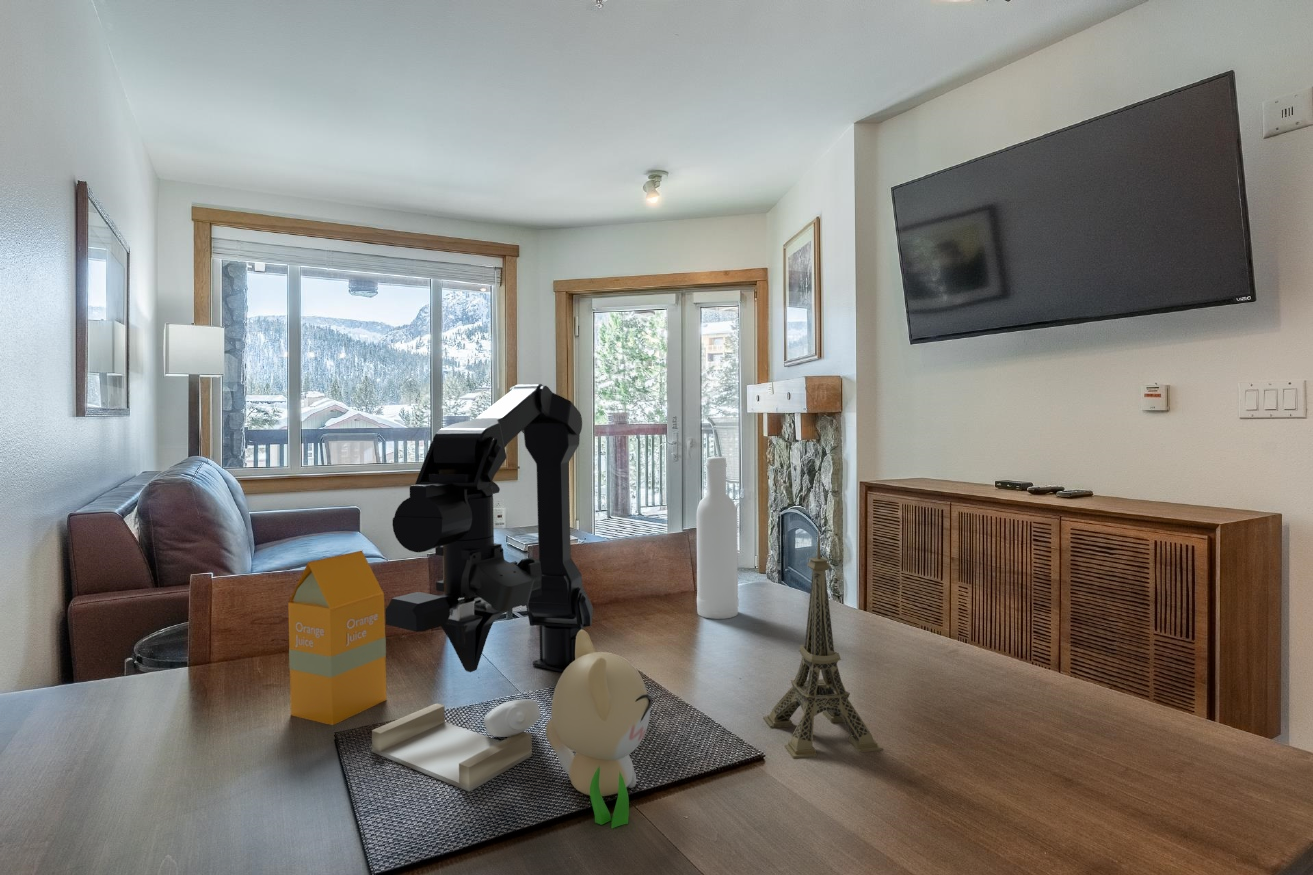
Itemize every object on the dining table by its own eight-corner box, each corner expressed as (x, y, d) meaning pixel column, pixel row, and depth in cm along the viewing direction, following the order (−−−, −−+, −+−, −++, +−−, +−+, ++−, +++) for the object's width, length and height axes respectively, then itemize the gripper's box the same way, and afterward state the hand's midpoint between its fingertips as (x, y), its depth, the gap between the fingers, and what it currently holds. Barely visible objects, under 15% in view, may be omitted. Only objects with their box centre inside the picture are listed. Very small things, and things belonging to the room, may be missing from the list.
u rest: (372, 751, 80) (371, 730, 80) (436, 723, 88) (436, 703, 88) (469, 791, 71) (468, 767, 71) (531, 755, 79) (531, 733, 79)
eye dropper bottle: (527, 739, 85) (542, 743, 74) (480, 733, 84) (489, 736, 73) (534, 701, 87) (550, 700, 76) (488, 694, 85) (498, 692, 75)
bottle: (694, 618, 132) (693, 458, 132) (699, 607, 140) (697, 456, 139) (737, 620, 131) (736, 458, 130) (739, 608, 139) (738, 456, 138)
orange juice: (387, 699, 95) (384, 552, 95) (332, 725, 87) (329, 564, 87) (345, 690, 99) (342, 548, 98) (289, 715, 91) (285, 560, 90)
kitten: (673, 821, 66) (671, 661, 66) (566, 840, 63) (563, 673, 63) (632, 749, 80) (631, 618, 80) (544, 762, 77) (542, 626, 77)
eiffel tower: (882, 750, 80) (882, 528, 79) (793, 759, 78) (791, 532, 77) (843, 712, 90) (842, 516, 89) (763, 719, 88) (761, 519, 88)
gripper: (451, 556, 69) (454, 714, 70) (574, 530, 85) (576, 659, 85) (380, 546, 75) (383, 691, 76) (508, 524, 91) (510, 644, 91)
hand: (470, 670), depth 82 cm, fingers closed
